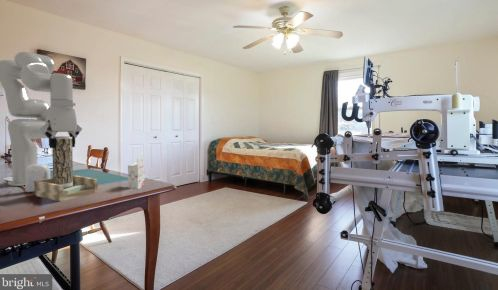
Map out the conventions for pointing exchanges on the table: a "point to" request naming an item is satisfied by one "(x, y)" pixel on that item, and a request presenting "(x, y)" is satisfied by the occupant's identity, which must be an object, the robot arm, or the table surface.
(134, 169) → the ink cartridge box
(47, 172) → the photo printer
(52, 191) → the tan open tray
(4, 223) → the table surface
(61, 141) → the bark covered post
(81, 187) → the sage offcut
